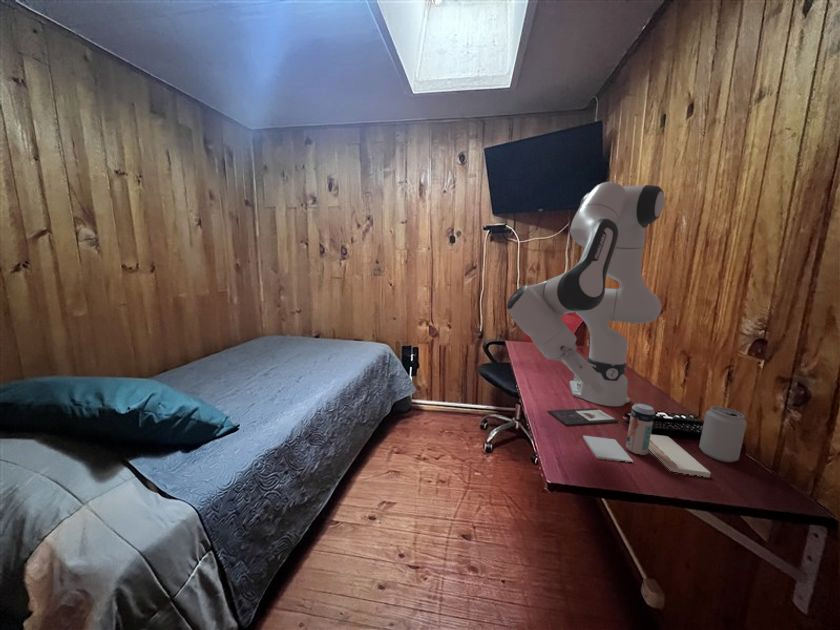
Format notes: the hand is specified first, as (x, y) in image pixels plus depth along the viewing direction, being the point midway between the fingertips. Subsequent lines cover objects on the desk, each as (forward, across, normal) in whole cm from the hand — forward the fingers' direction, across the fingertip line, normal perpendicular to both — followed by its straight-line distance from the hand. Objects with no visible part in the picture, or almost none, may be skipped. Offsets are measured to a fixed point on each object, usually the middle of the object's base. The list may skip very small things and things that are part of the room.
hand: (593, 384), depth 82 cm
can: (+35, +3, -12) cm, 37 cm away
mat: (+15, -1, +8) cm, 17 cm away
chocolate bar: (+15, +17, +9) cm, 25 cm away
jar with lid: (+20, 0, +3) cm, 21 cm away
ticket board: (+26, 0, -2) cm, 26 cm away
